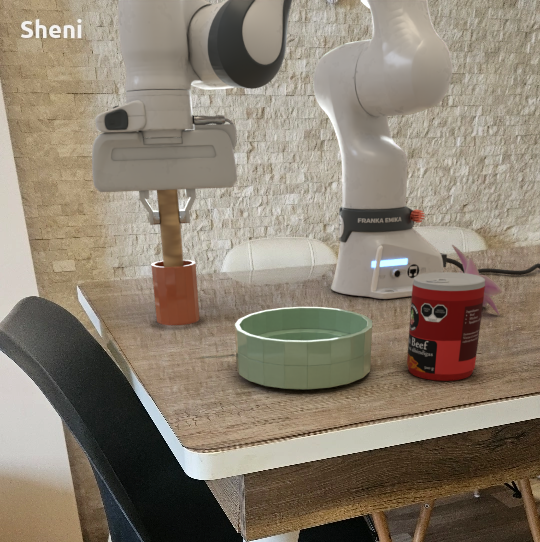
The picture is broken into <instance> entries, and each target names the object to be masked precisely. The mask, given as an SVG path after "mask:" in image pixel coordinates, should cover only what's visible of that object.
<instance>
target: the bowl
mask: <svg viewBox="0 0 540 542" xmlns="http://www.w3.org/2000/svg"><path fill="white" fill-rule="evenodd" d="M372 339H373V320H372V319H371V318H370V317H368V316H367V315H364V314H363V313H359V312H356V311H353V310H347V309H342V308H335V307H322V306H294V307H293V306H292V307H279V308H272V309H265V310H264V309H263V310H261V311H255V312H252V313H249V314H247V315H245V316H242V317H240V318H238V319H237V321H236V322H235V323H234V341H235V342H234V344H235V346H234V347H235V360H236V361H235V363H236V370H237V373H238V375H239V376H241V377H242V378H244V379H245V380H246V381H248V382H251V383H254V384H258V385H260V386H264V387H271V388H277V389H278V388H279V389H286V390H298V391H299V390H320V389H329V388H334V387H338V386H344V385H348V384H351V383H354V382H356V381H358V380H361V379H364V378H365V376H367V375H368V374H369V373H370V372H371V365H372V363H371V360H372V342H373V340H372Z"/></svg>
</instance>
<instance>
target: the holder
mask: <svg viewBox="0 0 540 542" xmlns="http://www.w3.org/2000/svg"><path fill="white" fill-rule="evenodd" d="M183 263H184V266H177V267H164V264H163V260H159V261H155V262H152V263H151V264H150V267H151V277H152V285H153V286H152V287H153V296H154V306H155V307H154V308H155V315H156V323H158V324H160V325H162V326H163V325H164V326H185V325H190V324H191V325H192V324H195V323H197V322H199V321H200V319H201V317H200V304H199V303H200V302H199V292H198V278H197V277H198V276H197V265H196V261H194V260H189V259H183Z"/></svg>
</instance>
